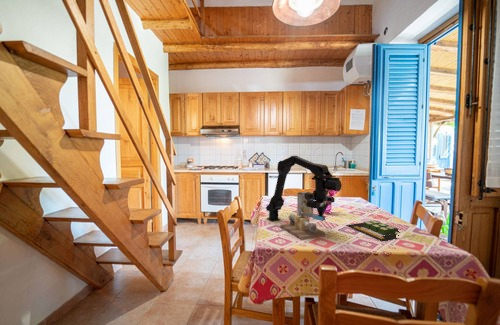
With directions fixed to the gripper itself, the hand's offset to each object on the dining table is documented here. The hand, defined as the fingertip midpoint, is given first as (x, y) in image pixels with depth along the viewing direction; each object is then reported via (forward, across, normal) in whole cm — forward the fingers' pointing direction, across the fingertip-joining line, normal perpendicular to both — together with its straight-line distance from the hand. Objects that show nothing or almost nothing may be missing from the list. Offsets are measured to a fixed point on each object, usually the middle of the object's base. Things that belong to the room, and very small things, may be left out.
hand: (320, 217), depth 122 cm
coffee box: (+10, -22, -26) cm, 35 cm away
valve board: (+10, +3, -10) cm, 14 cm away
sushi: (+12, -32, +18) cm, 39 cm away
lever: (0, +2, -4) cm, 5 cm away
